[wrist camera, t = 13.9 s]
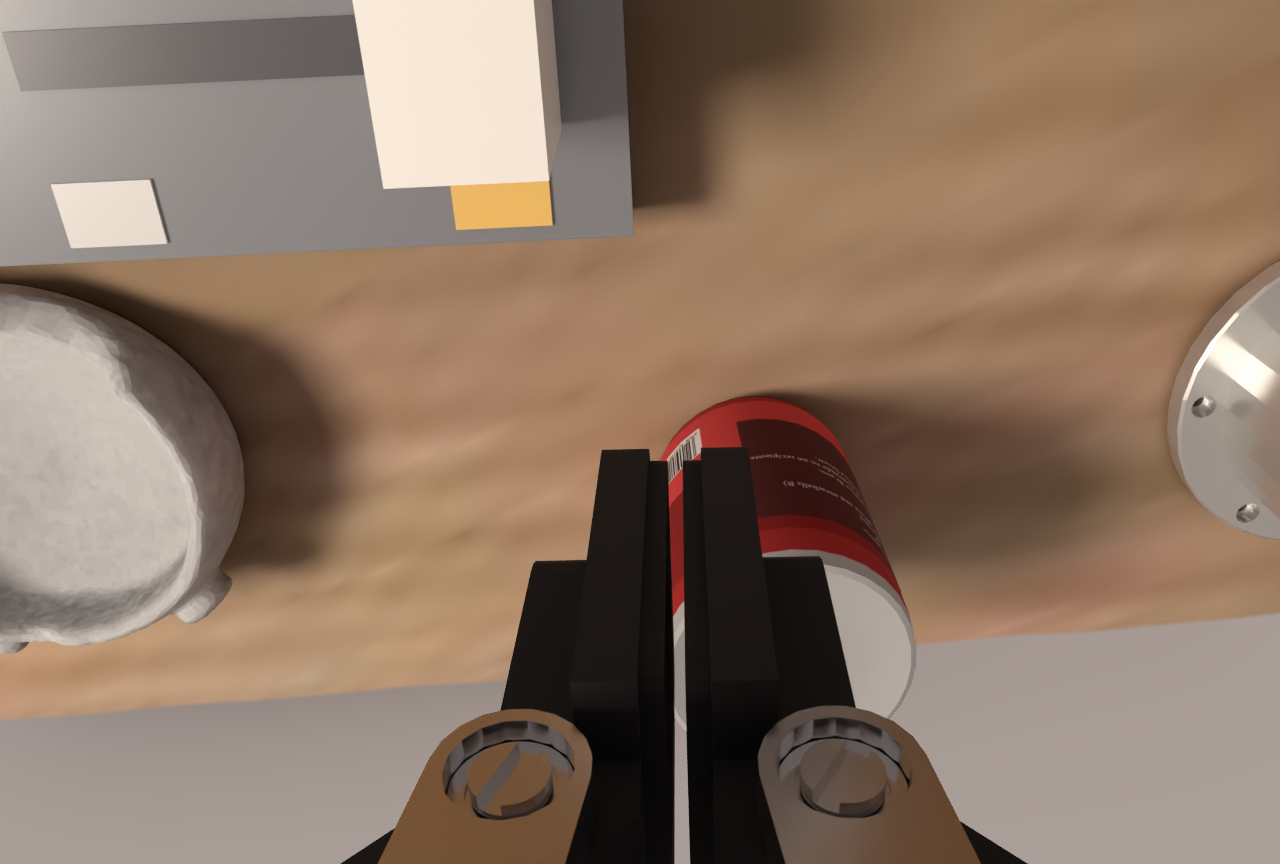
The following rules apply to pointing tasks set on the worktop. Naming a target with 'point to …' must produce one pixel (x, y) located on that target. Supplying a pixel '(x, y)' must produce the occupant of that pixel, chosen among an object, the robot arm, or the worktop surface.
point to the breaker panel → (264, 136)
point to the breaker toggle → (461, 90)
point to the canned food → (804, 537)
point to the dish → (106, 476)
